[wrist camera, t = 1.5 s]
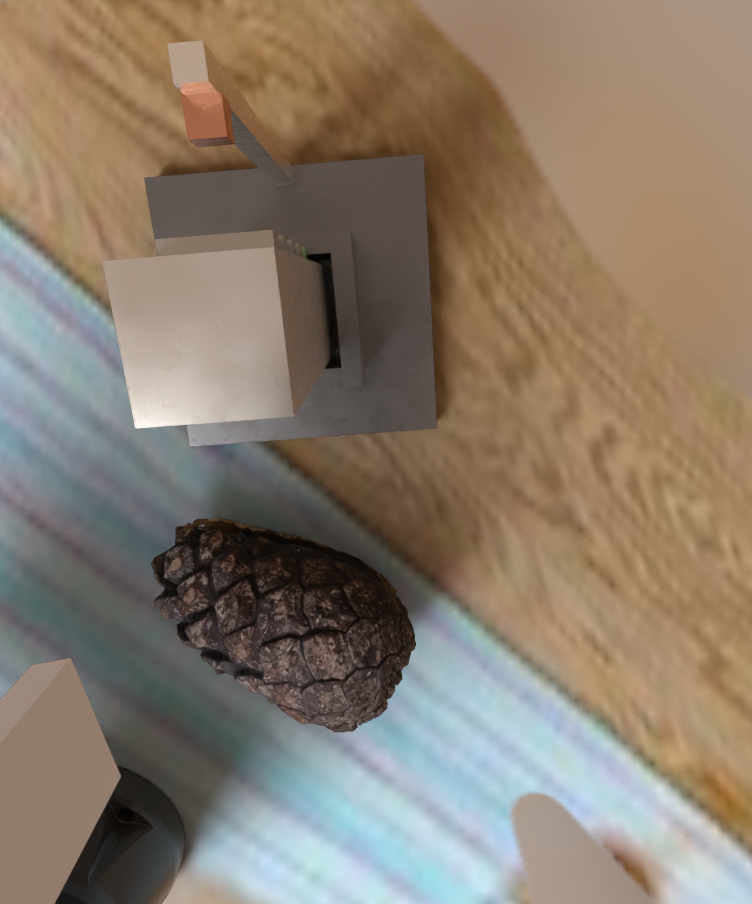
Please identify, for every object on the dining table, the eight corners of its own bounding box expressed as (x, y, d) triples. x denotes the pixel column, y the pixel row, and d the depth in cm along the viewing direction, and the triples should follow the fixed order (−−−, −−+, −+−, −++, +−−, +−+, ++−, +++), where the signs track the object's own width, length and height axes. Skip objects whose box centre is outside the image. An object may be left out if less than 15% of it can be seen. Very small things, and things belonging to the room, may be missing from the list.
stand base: (197, 440, 39) (38, 577, 21) (153, 182, 35) (-96, 67, 16) (434, 423, 39) (486, 546, 20) (421, 159, 34) (472, 16, 16)
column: (266, 350, 36) (135, 428, 16) (254, 262, 34) (96, 232, 15) (339, 345, 35) (294, 416, 16) (330, 255, 34) (270, 217, 15)
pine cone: (187, 488, 40) (126, 552, 30) (429, 563, 42) (444, 647, 32) (154, 614, 43) (89, 710, 33) (382, 680, 44) (383, 790, 35)
